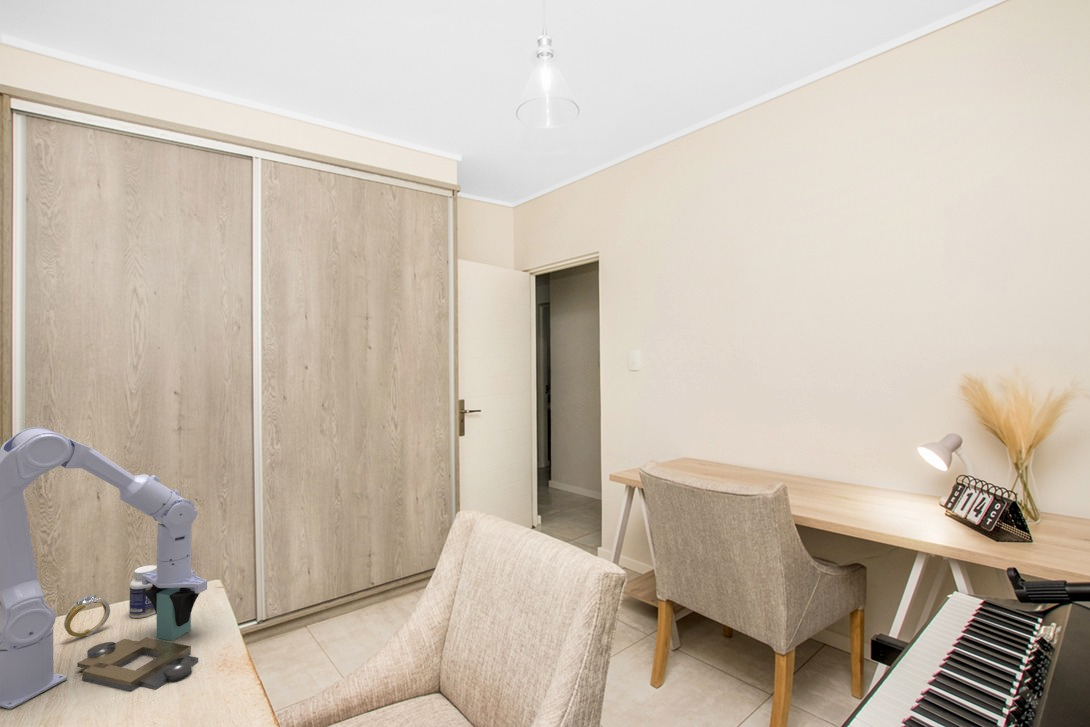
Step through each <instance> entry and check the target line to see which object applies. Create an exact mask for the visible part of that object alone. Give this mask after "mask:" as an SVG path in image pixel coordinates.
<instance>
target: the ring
mask: <svg viewBox="0 0 1090 727" xmlns="http://www.w3.org/2000/svg"><path fill="white" fill-rule="evenodd" d="M93 603H94V604H98V605H101V606H102V608H103V616H102V618H101V620H100V621H99V623H98V624H97V625H96V626H94V627H92V628H91V629H89V628H88V629H85V630H84V631H80V632H79V631H78V632H77V631H74V630H72V627H71V623H72V621H73V619H74V617H75V616H76V615H77V614H79V612H81V611H82V610H84V609H85V608H86V606H89V605H90V604H93ZM110 614H111V608H110V605H109V603H108V601H107V600H106V599H104V598H97V594H94V596H92V595H91V596H89V594H87V595H85V596H82V597H81V598H80V599H79V600H78V601H77V600H76V601H75V603H74V604H73V605H72V606H71V607H70V608H69V610H68V611H67V612H66V614H65V617H64V621H63V627H64V630H65V631H66V632H67V634H68V635H70V636H72V637H76V638H81V637H89V636H91V635H92V634H94V633H96V632H97V631H99V630H100V629H101V628H103V626H104V625H105V624H106V622H107V621H108V619H109V617H110Z"/></svg>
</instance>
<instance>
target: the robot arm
mask: <svg viewBox="0 0 1090 727" xmlns="http://www.w3.org/2000/svg"><path fill="white" fill-rule="evenodd" d="M58 467H62V468H64V469H83V470H84V471H86V472H88V473H90V474H92V475H93V476H95V477H97V478H99V479H101V480H103V481H104V482H106V483H108V484H109V485H111V486H113V487H115V488H117V489H118V490H119V498H120V501H122V502H124V503H125V504H128V505H129V506H131V507H132V508H134V509H136V510H138V511H139V512H142V513H143V514H145V515H146V516H148V517H151V518H152V519H153V520H154V521H157V522H158V523H157V536H156V566H157V572H153V571H151V572H149V573H146V574H144V575H142V584H143V585H147V584H152V587H151V589H149V590H147V591H146V592H145V595H146V596H147V597H148V599H149V600H150V601H151V603H152V605H153V607H154V609H155V612H156V613H155V615H156V616H157V593H159V592H161V591H163V590H166V589H168V588H179V589H180V591H178V592H175V593H173V594H171V595H169V598H170V599H171V601H172V603H173V606H174V610H175V620H176V625H177V626H179V627H180V626H182V625H184V624H185V623H187V622H189V618H190V615H191V616H192V611H193V608H194V605H195V603H196V601H197V598H198V597H199V595H200V593H202V592H205V591H206V590H208V579H203V578H201V577H200V576H198V575H197V574H196V570H195V569H192V562H193V561H192V554H193V553H192V552H193V551H192V549H193V548H192V547H193V545H192V544H193V542H192V541H193V531H192V524H193V522H195V520H196V518H197V516H198V510H196V507H195V504H194V503H193V502H192V501H190V500H188V499H186V498H184V497H182V496H181V495H180V493H181V492H180V491H179V490H177V489H173V490H172V489H170V488H168V487H167V486H166V485H164V484H162V483H161V482H160V481H161V478H160V477H158V476H156V475H155V474H152V475H151V476H150V475H148V474H146V473H145V474H137V475H133V474H132V473H130V472H129V471H127V470H126V469H124V468H123V467H122V466H120V465H118V464H117V463H115V462H114V461H112V460H111V459H109V458H108V457H107V456H105V455H103V454H102V453H101V452H98V451H97V450H96V449H94V448H93V447H90V446H88V445H86V444H83V443H81V442H79V441H77V440H74V439H72V438H69V437H66V436H65V435H64V434H61V433H59V432H55V431H54V430H52V429H50V428H47V427H43V426H42V427H41V426H33V427H28V428H25V429H23V430H21V431H19V432H18V433H16V434H15V435H13V436H12V437H10V438H9V439H8V440H6V441H5V442H4V443H2V444H1V447H0V707H2V708H6V709H8V710H9V709H10V710H11V709H14V708H15V707H17V706H19V705H21V704H23V703H25V702H27V701H28V700H30V699H32V698H35V697H37V696H39V695H40V694H41V693H43V692H45V691H48V690H49V689H51V688H53V687H55V686H57V685H59V684H60V683H62V682H64V681H65V680H67V679H68V676H67V675H64V674H60V673H55V672H54V625H55V623H56V618H57V617H56V613H55V610H54V609H53V608H52V607H50V606H49V605H48V604H47V603H46V601H45V595H44V592H43V590H42V587H41V584H40V581H39V575H38V571H37V564H36V559H35V554H34V547H33V542H32V536H31V531H30V526H29V518H28V513H27V508H26V501H25V496H24V491H25V490H26V489H27V488H28V487H29V486H30V485H31V484H33V483H34V482H35V481H36V480H37V479H38V478H40V477H41V476H42V475H44V474H46V473H48V472H50V471H53V470H54V469H56V468H58Z"/></svg>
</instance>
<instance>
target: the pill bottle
mask: <svg viewBox="0 0 1090 727" xmlns="http://www.w3.org/2000/svg"><path fill="white" fill-rule="evenodd" d="M151 571H153V572H157V565H155V564H152V565H143V566H140V567H138V568H135V570H134V572H133V578H134V579H132V581H130V584H129V610H128V612H129V614H128V615H129V617H130V618H132V619H140V618H146V617H150V616H152V615H156V612H155V609H154V607H153V605H152V603H151V601H150V600H149V599H148V597H147V596H146V595H145V592H146V591H147V590H149V589H151V587H152V584H147V585H143V584H142V575H144V574H146V573H149V572H151Z"/></svg>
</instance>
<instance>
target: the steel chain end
mask: <svg viewBox="0 0 1090 727" xmlns="http://www.w3.org/2000/svg"><path fill="white" fill-rule="evenodd" d="M191 655H192V649H191V650H190V651H189V652H187V653H185V654H184V655H182V656H181V657H179V658H177V659H175V660H173V661H171V662H169V663H167V664H166V665H165V666H164V667H163V668H161V669H159V670H158V671H156V672H154V673H153V674H151V675H149V676H148V677H146V678H145V679H143V680H141V681H140V682H138V683H136V684H135V685H133V686H131V687H130V686H125V685H121V684H116V683H112V682H108V681H103V680H99V679H95V678H90V677H86V676H81V677H82V678H81V679H82V681H84V682H89V683H93V684H96V685H97V684H98V685H101V686H106V687H111V688H115V689H118V690H122V691H123V690H124V691H127V692H133V691H134V690H135V689H138V688H139V687H142V688H143V687H144V688H148V689H152V690H158V689H159V688H160V687H162V686H164V685H165V684H167V683H177V682H179V681H182V680H184V679H186V678H188V677H189V676H190V675H191V674H192V670H193V669H192V668H193V666H194V665H196V664H198V663H199V657H197V656H191ZM142 656H144V657H145V656H146V657H150V658H154V659H155V658H157V657H159V656H160V654H156V653H151V652H146V651H142V652H140V653H138V654H136V655H135V656H133V657H131V658H129V659H127V660H126V661H124V662H122V663H120V664H118V665H117V667H122V668H123V667H124V666H126V665H128V664H129V663H132V662H133V661H135V660H137V659H139V658H141V657H142Z"/></svg>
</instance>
